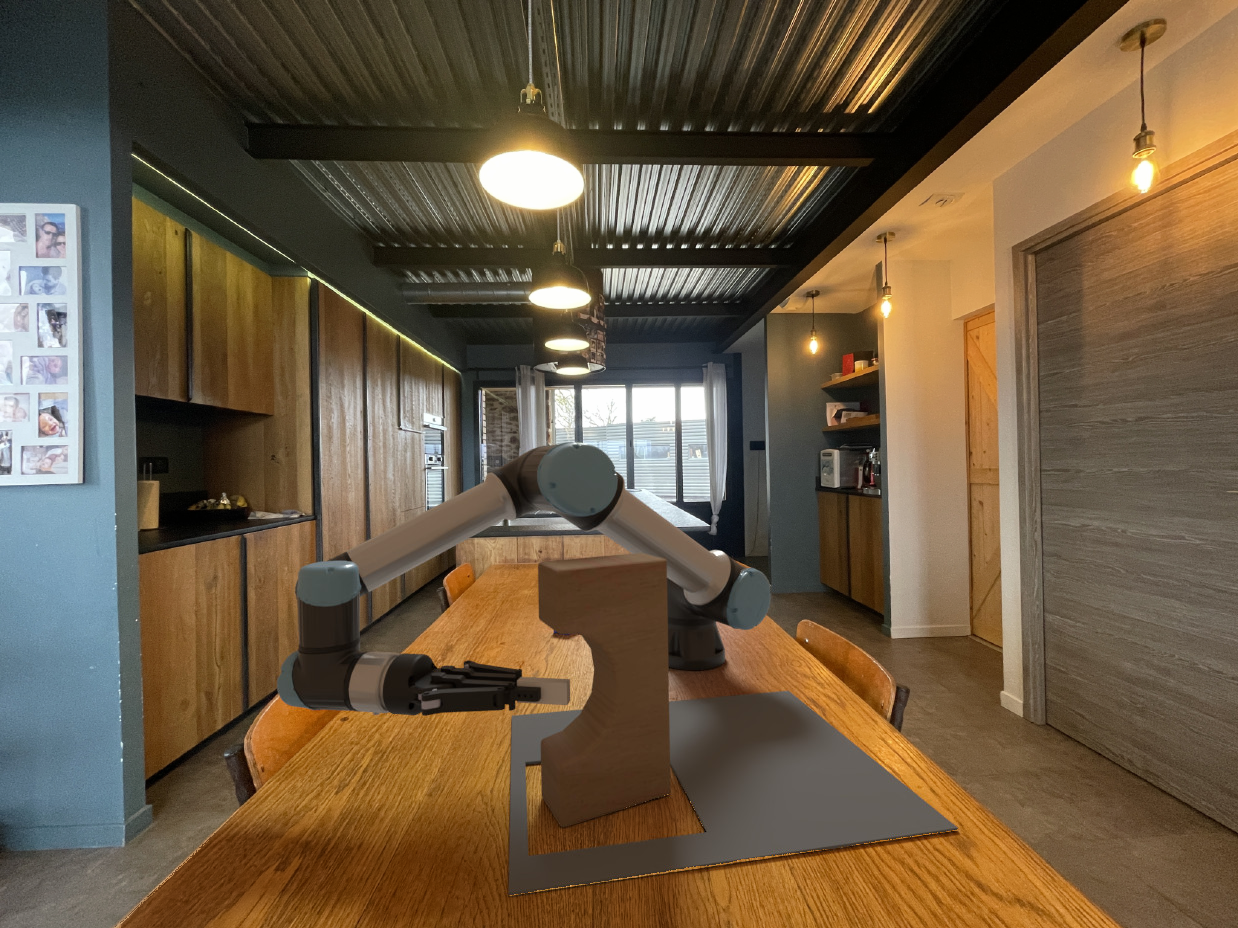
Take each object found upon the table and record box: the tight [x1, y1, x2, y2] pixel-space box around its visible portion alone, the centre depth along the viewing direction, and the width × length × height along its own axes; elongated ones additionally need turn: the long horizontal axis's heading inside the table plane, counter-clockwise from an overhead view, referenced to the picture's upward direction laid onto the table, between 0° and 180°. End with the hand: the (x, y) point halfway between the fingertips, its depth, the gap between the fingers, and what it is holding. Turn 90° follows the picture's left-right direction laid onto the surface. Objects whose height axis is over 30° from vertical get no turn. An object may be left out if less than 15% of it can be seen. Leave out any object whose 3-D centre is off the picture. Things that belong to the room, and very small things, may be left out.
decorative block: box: [537, 553, 672, 828], centre depth 73 cm, size 15×8×30 cm, turn 116°
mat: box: [508, 690, 959, 896], centre depth 81 cm, size 50×41×1 cm
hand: (568, 691), depth 72 cm, fingers closed
